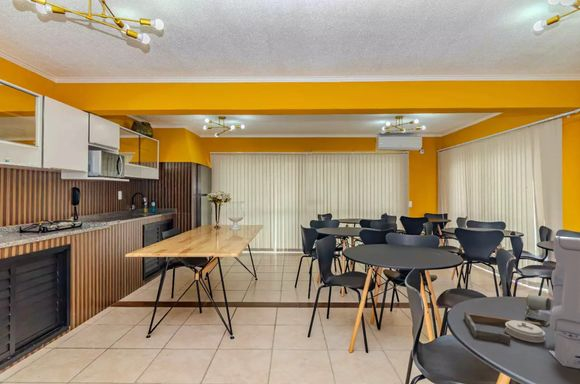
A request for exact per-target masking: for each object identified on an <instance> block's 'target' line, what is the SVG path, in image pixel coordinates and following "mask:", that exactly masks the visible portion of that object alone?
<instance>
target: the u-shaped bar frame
mask: <svg viewBox="0 0 580 384" xmlns="http://www.w3.org/2000/svg"><path fill="white" fill-rule="evenodd" d="M463 315H464V321H465V322H466V324H467V327H468V328H469V330H470V331H471V333H472V335H473V337H474V338H475V339H481V340H482V339H483V340H487V341H494V342H498V341H499V342H502V343H503V342H504V344H506V343H507V345H509V344H510V343H511V337H512V336H511V335H509V334H507V333H502V332H500V331H492V330H487V329H486V330H485V329H479V328H478V327H477V326H476V324H475V323H479V324H486V325H493V326H500V327H506V325H505V323H506V322H508V321H511V320H516V321H523V322H527V323H531V324H533V325H536V326H538V327H540V328H541V329H542V325H541V324H540V323H538V322H531V321H528V320H524V319H523V320H521V319H515V318H507V317H500V316H493V315H486V314H480V313H472V312H464V314H463ZM510 345H511V344H510Z"/></svg>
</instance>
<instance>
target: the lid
mask: <svg viewBox="0 0 580 384" xmlns="http://www.w3.org/2000/svg"><path fill="white" fill-rule="evenodd" d="M516 320H517V319H516ZM516 320H511V321H508V322H506V323H505V325H506V326H505V328H504V331H505V332H506V334H507V335H510V336H511V337H514V338H516V339H519V340H522V341H524V342H529V343H539V344H540V343H545V341H546V338H545V336H546V332H545V331H544V330H543V329H542V327H541V328H540V327H538V326H536V325H533V324H531V323H527V322H523V321H524V320H523V321H516Z"/></svg>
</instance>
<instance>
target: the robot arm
mask: <svg viewBox="0 0 580 384" xmlns="http://www.w3.org/2000/svg"><path fill="white" fill-rule="evenodd" d="M552 249H553V254H554V259H555V262H556V263H555V268H554V269H553V270H552V272H551V284H552V307H551V310H550V311H542V310H539V313H538V315H537V316H539V317H541V318H546V317H550V318H549V319H550V324H549V326H550V330H552V331H553V332H554V350H548V351H549V352H548V353H550V355H552V357H554V359H556V360H557V362H558V363H560V364H561V366H563V367H567V368H573V369H580V237H573V236H571V237H570V236H559V235H554V237H553V241H552Z"/></svg>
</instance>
